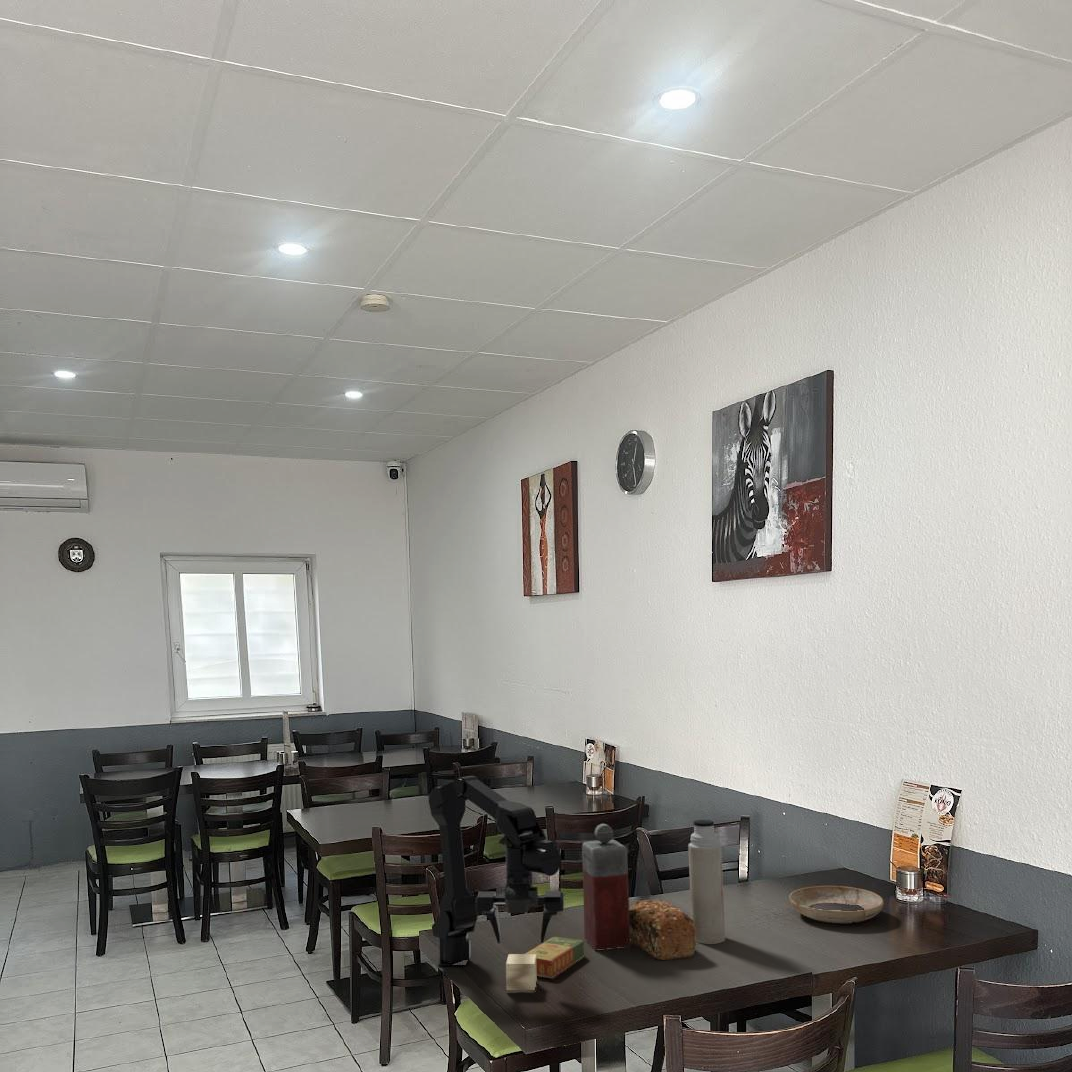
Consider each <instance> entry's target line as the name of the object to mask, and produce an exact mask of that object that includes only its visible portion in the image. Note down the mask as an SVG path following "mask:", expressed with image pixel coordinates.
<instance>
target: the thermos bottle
mask: <svg viewBox="0 0 1072 1072" xmlns="http://www.w3.org/2000/svg"><path fill="white" fill-rule="evenodd" d="M693 825H694V827H693V831H694V832H692V833H691V835H690V843H688V866H689V867H688V869H689V871H688V872H689V893H690V895H689V896H690V918H692V919H693V920H694V926H695V928H696V936H695V937H696V941H695V942H696V943H699V944H704V945H705V944H706V945H716V944H720V943H723V942H725V941H726V928H725V927H726V926H725V925H726V923H725V903H724V902H725V901H724V880H723V879H724V876H723V857H722V855H723V854H722V853H723V851H722V844H721V843H719V839H720V838H719V834H717V833H716V832H715V827H714V821H713V820H710V819H696V820H694V821H693Z"/></svg>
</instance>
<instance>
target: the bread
mask: <svg viewBox="0 0 1072 1072" xmlns="http://www.w3.org/2000/svg"><path fill="white" fill-rule="evenodd" d="M629 921H630V939H631V940H630V941H632V942H633V943H634V944H635V943H636V946H637V945H638V946H637V947H639V948H641V949H642V950H643V949H644V950H643V951H644V952H646V951H647V952H646V953H647V954H649V955H650V956H651V957H653V958H654V959H657V960H665V961H666V960H675V959H683V958H691V957H692V956H694V954H695V951H696V949H695V948H696V945H697V942H696V937H695V936H696V928H695V926H694V920H693V919H692V918H691V915H689V914H688V913H686V912H685V911H683V910H682V909H680V908H679V907H677V906H674V905H672V904H671V903H669V902H666V901H664V900H661V899H644V900H638V901H636V902H635V903H634V904H633V905H632V906H629Z"/></svg>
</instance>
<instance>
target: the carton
mask: <svg viewBox="0 0 1072 1072" xmlns="http://www.w3.org/2000/svg"><path fill="white" fill-rule="evenodd" d="M524 954H536V965H537V974H540V975H546V976H550V977H552V976H554V975H556V974H557V973H558V972H561V971H562V970H564V969H565V968H566V967H567V966H569V965H570V964H573V963H574V962H576V960H578V959H579V958H581V957H582V956H583V955H584V956H585V943H584V940H582V939H575V938H567V937H560V936H552V937H550V938H549V939H548V940H546V941H545V940H544V941H543V943H540V944H539V945H537V946H536V947H534V948H533V949H530V950H528V951H527V952H525V953H524Z"/></svg>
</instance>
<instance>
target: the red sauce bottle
mask: <svg viewBox="0 0 1072 1072" xmlns="http://www.w3.org/2000/svg"><path fill="white" fill-rule="evenodd" d="M594 837H595V839H596V840H593V841H592V840H590V841H584V842H583V843H582V845H581V853H582V857H581V858H582V860H581V861H582V886H583V888H582V889H583V890H582V891H583V925H584V926H583V928H584V929H583V930H584V940H585V939H586V940H587V941H588V943H589V944H590V945H591V946H592V947H593V948H594V949H595V950H597V949H607V948H617V947H628V948H631V940H630V921H629V908H630V897H629V896H630V894H629V893H630V891H629V867H628V864H629V862H628V848H627V847H626V846H625V845H624V844H621V843H620V842H619V841H617V840H615V839H613V838H614V830H613V828H612V827H611V826H609V824H606V823H600V824H598V825H596V827H595V829H594ZM588 943H587V944H588ZM589 944H588V945H589ZM590 945H589V946H590ZM591 946H590V947H591ZM592 947H591V948H592ZM593 948H592V949H593ZM594 949H593V950H594Z"/></svg>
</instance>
